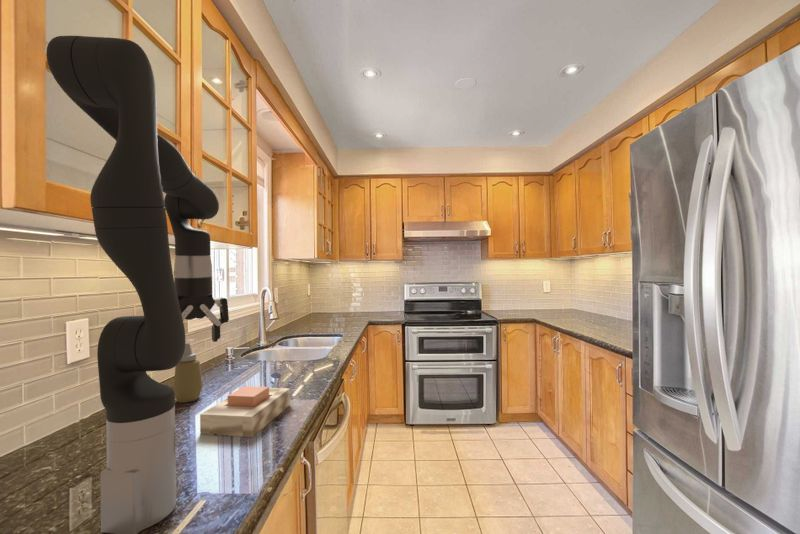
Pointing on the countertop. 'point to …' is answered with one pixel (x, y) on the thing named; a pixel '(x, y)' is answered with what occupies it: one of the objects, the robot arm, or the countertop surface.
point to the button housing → (244, 415)
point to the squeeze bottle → (188, 377)
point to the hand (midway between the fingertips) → (195, 344)
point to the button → (248, 396)
